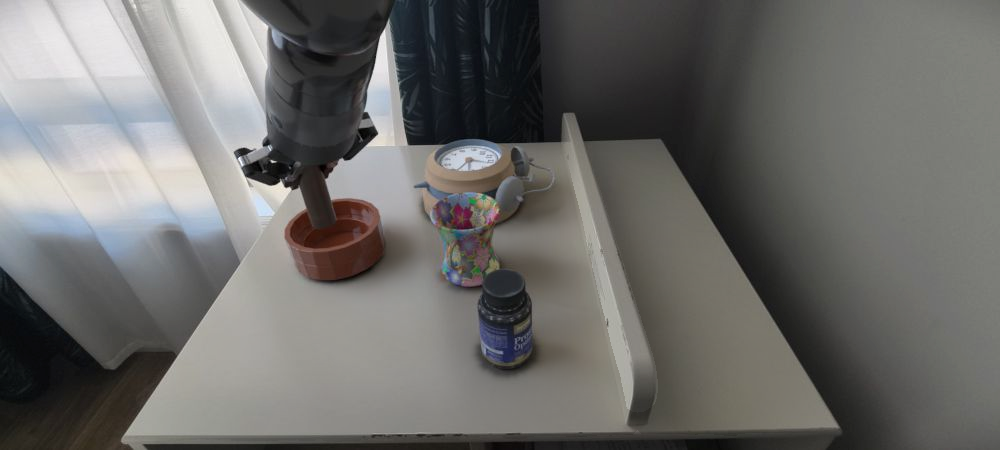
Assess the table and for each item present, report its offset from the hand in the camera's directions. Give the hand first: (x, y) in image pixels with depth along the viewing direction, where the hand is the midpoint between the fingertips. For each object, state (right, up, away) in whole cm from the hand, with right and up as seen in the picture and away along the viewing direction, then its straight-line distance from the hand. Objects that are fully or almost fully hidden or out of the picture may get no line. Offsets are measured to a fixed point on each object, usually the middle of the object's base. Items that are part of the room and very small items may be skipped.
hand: (305, 176), depth 55 cm
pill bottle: (+23, -21, +4) cm, 31 cm away
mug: (+17, -13, +15) cm, 26 cm away
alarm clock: (+20, -2, +31) cm, 37 cm away
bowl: (-3, -10, +20) cm, 23 cm away
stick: (+1, -5, +2) cm, 6 cm away
